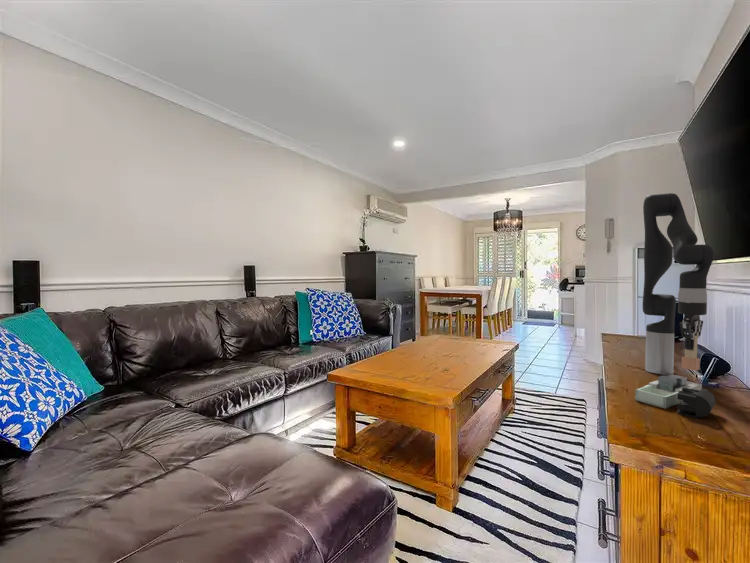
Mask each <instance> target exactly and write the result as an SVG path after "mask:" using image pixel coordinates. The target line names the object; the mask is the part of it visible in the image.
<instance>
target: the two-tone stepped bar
mask: <svg viewBox="0 0 750 563" xmlns="http://www.w3.org/2000/svg"><path fill="white" fill-rule="evenodd" d="M698 339H699V338H698V336H696V335H694V349H693V350H687V349H685V348H684V356H681V364H680V365H681V369H685V370H689V371H690V370H691V371H699V370H700V368H701V366H700V365H701V363H700V362H701V359H700V357H698V341H699V340H698Z"/></svg>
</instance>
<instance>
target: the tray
mask: <svg viewBox="0 0 750 563" xmlns="http://www.w3.org/2000/svg"><path fill="white" fill-rule="evenodd" d="M648 385H649V384H648ZM644 386H645V387H644ZM644 386H642V387H640V388H636V389H635V391H634V392H635V394H634V395H635V398H634V400H635V402H636V401H638V402H641V403H644V404H647V405H651V406H654V407H658V408H663V409H668V408H670V407H673V406H675V405H676V406H677V403H679V404H681V403H680V400H679V399H677V396H678V392H679V391H678V392H675V393H672V394H670V395H667V396H661V395H657V394H653V385H649V386H646V385H644Z"/></svg>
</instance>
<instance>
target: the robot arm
mask: <svg viewBox="0 0 750 563" xmlns="http://www.w3.org/2000/svg"><path fill="white" fill-rule="evenodd" d="M642 209H643V225H644V248H643V250H644V251H643V267H644V268H643V269H644V275H643V276H644V278H643V280H644V281H643V294H642V312H643V313H644V315H647V316H657V317H664V318H663V319H661V320H660V321H657V322H651V323H648V324H646V327H645V329H646V330H645V331H646V332H645V362H644V363H645V366H644V368H645V369H644V370H645V371H646V372H648V373H651V374H658V375H662V376H663V375H665V376H668V375H672V374H673V375H674V366H675V365H674V360H675V359H674V358H675V322H676V321H675V318H676V310H677V313H678V314H680V315H684V316H683V319H682V321H681V322H679V328H680V329H679V330H680V332H681V333H680V334H681V337H682V338H683V339H684V350H685V349H687V350H693V349H694V335H696V336H698V339H699V338H700V337H701V334H702V330H703V324H704V320H701V317H700V316H705V315H707V312H708V311H707V310H708V309H707V308H708V291H707V284H708V283H707V280H708V279H707V276H708V274H709V272H710V269H711V266H712V264H713V262H714V259H715V254H716V253H715V249H714V248H713V247H712V246H711V245H710V244H697V243H698V236H697V234H696V233H695V232H694V230H693V228H692V227H691V226H690V223H689V222H688V219H687V216H686V212H685V209H684V207H683V205H682V201H681V199H680V198H679V196H678V194H676V193H673V192H667V193H658V194H657V193H656V194H648V195H647V196H645V198H644V201H643V208H642ZM668 216H670V217H671V220H670V222H669V224H668V226H667V227H666V234H667V235H666V236H667V237H668V238H669V240H668V238H667V237H666V236H665V235H664V234H663V233H662V231H661V230H660V228H659V225H658V222H657V217H668ZM670 242H671V243H670ZM673 259H674V261H675V262H676V263H678V264H680V265H695V267H694V268H693V269H692V270H688V271H683V272H681V273H680V274H679V287H678V288H679V289H678V294H677V296H678V298H677V300H676V297H675V295H673V294H661V293H654V288H655V286H656V285H657V283H658V282H659V280H660V279H661V278H662V277H663V276H664V275H665V274H666V272H667V271H669V269H670V268H671V266H672V264H673ZM676 307H677V309H676Z"/></svg>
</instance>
